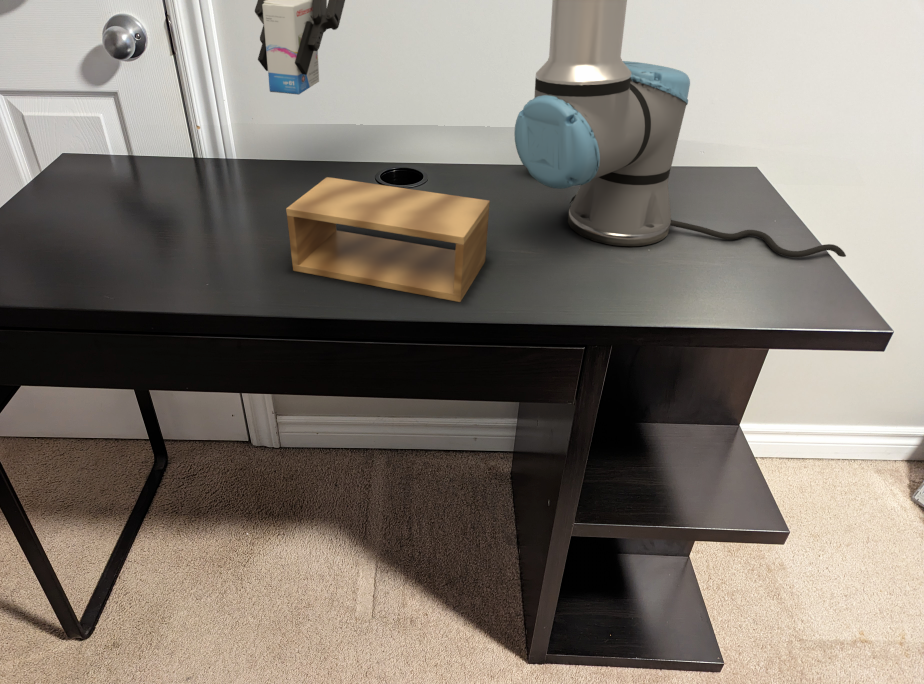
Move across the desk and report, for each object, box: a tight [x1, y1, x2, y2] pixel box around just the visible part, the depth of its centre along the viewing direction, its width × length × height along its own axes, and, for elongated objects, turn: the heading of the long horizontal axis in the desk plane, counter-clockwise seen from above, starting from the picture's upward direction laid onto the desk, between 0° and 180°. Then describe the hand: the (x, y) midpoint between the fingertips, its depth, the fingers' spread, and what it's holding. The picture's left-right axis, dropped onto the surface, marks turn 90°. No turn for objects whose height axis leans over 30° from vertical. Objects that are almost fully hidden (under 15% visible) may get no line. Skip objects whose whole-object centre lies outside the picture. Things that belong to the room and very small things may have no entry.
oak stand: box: [285, 176, 491, 303], centre depth 92 cm, size 24×12×9 cm, turn 70°
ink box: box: [262, 0, 320, 95], centre depth 100 cm, size 9×5×12 cm, turn 165°
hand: (282, 66), depth 99 cm, fingers closed on ink box, 5 cm apart
